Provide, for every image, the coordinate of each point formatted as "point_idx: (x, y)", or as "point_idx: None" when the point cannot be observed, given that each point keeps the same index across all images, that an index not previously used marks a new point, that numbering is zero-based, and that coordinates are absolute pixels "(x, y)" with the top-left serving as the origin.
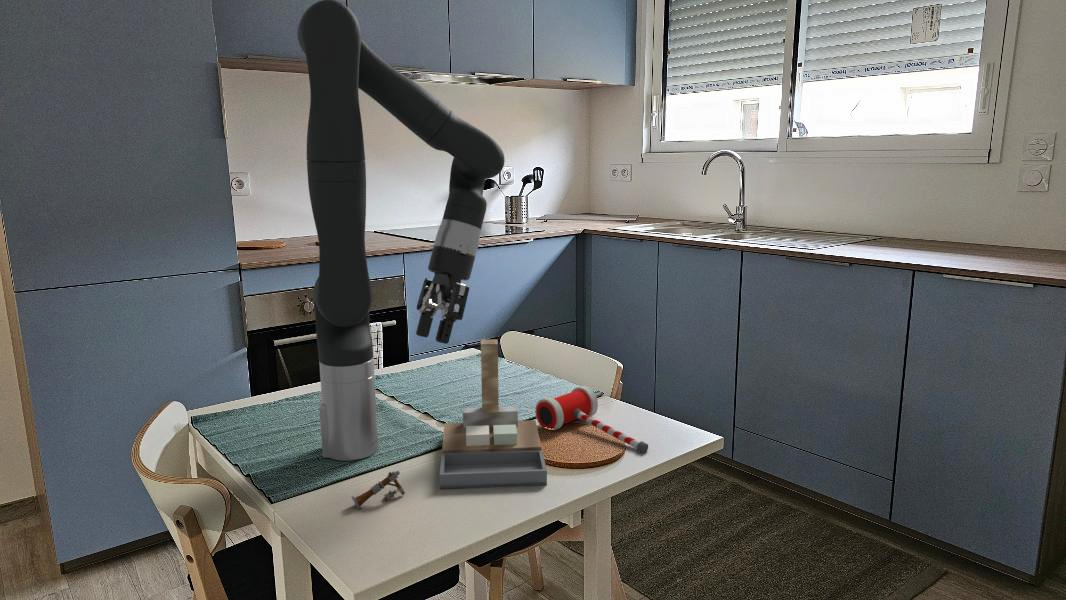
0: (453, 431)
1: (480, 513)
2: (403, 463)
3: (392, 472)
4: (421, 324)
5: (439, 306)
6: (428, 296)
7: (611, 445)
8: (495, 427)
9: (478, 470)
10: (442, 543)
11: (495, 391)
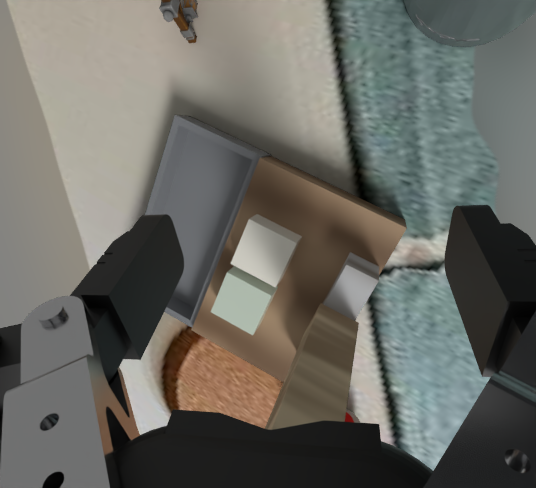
0: (344, 224)
1: (97, 146)
2: (327, 83)
3: (170, 3)
4: (475, 258)
5: (68, 364)
6: (434, 485)
7: None
8: (257, 293)
9: (213, 206)
10: (42, 58)
11: (294, 358)
